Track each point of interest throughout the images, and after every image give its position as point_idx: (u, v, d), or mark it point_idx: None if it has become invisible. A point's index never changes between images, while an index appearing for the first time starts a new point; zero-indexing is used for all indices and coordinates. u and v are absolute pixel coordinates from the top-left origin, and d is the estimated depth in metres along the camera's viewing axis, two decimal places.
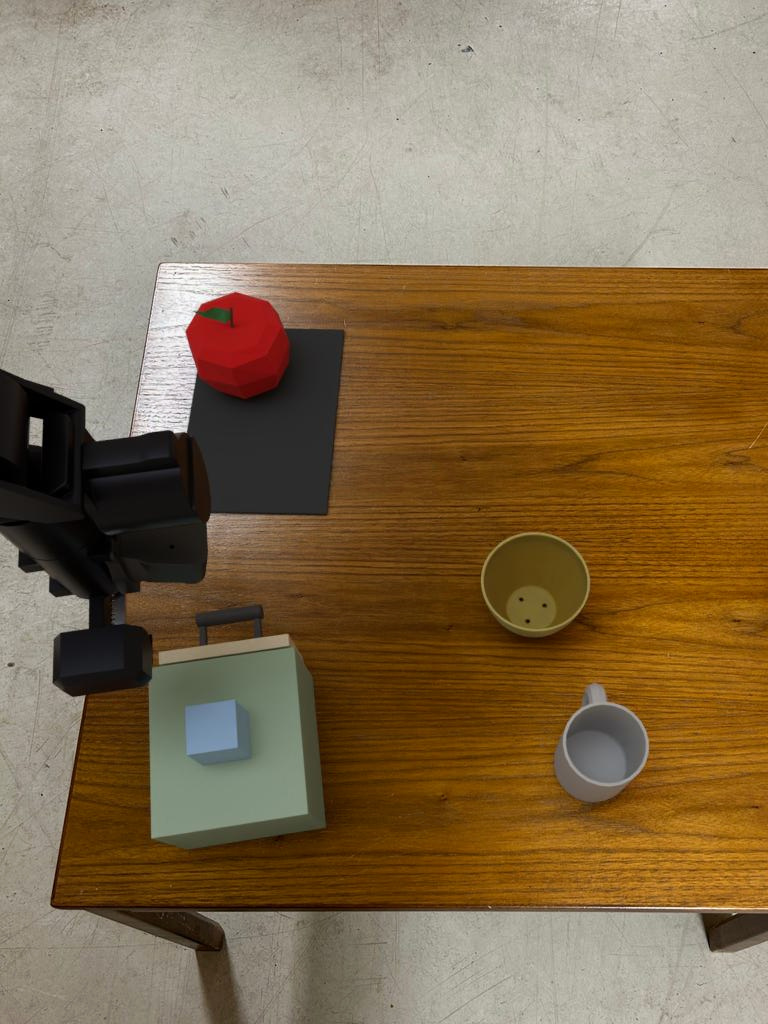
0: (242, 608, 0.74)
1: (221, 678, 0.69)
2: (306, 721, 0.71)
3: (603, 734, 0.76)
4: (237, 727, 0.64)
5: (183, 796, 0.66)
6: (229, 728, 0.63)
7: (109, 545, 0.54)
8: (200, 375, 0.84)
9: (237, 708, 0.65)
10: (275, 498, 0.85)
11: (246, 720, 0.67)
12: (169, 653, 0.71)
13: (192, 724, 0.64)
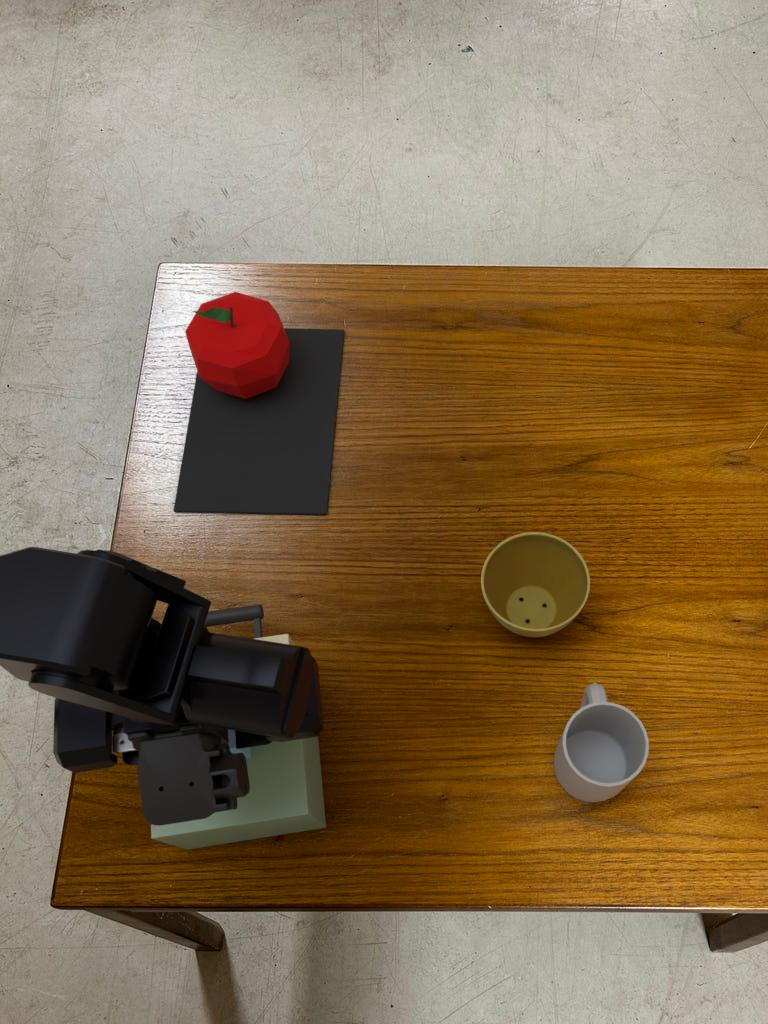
0: (242, 608, 0.74)
1: None
2: None
3: (603, 734, 0.76)
4: None
5: None
6: None
7: (137, 733, 0.52)
8: (200, 375, 0.84)
9: None
10: (275, 498, 0.85)
11: None
12: None
13: None
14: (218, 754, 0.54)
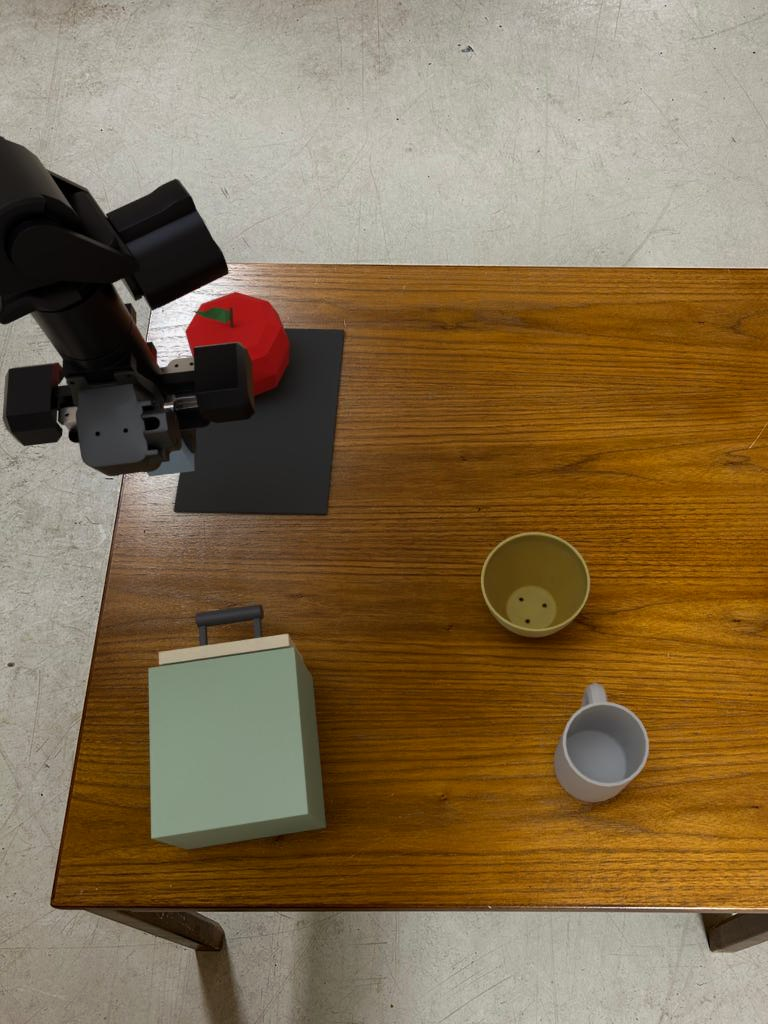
0: (242, 608, 0.74)
1: (221, 678, 0.69)
2: (306, 721, 0.71)
3: (603, 734, 0.76)
4: None
5: (183, 796, 0.66)
6: None
7: (74, 376, 0.57)
8: None
9: None
10: (275, 498, 0.85)
11: None
12: (169, 653, 0.71)
13: None
14: (150, 404, 0.58)
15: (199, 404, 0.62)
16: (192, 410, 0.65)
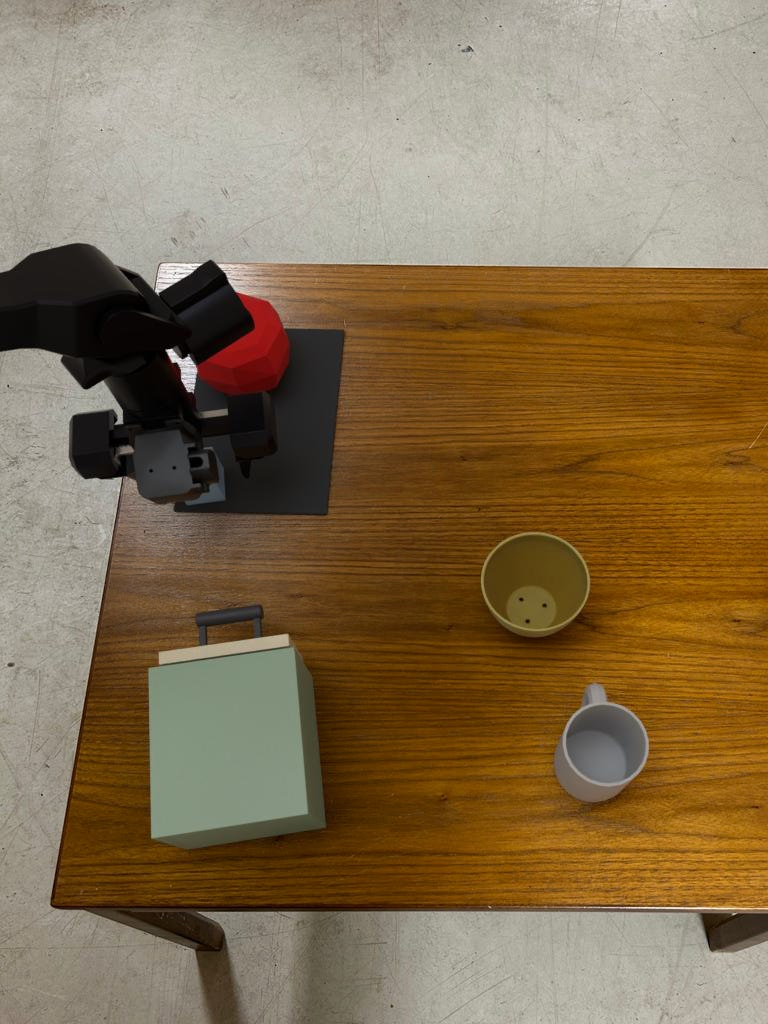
0: (242, 608, 0.74)
1: (221, 678, 0.69)
2: (306, 721, 0.71)
3: (603, 734, 0.76)
4: None
5: (183, 796, 0.66)
6: None
7: (133, 424, 0.69)
8: (200, 375, 0.84)
9: None
10: (275, 498, 0.85)
11: (221, 471, 0.85)
12: (169, 653, 0.71)
13: None
14: (194, 445, 0.71)
15: (232, 444, 0.74)
16: None
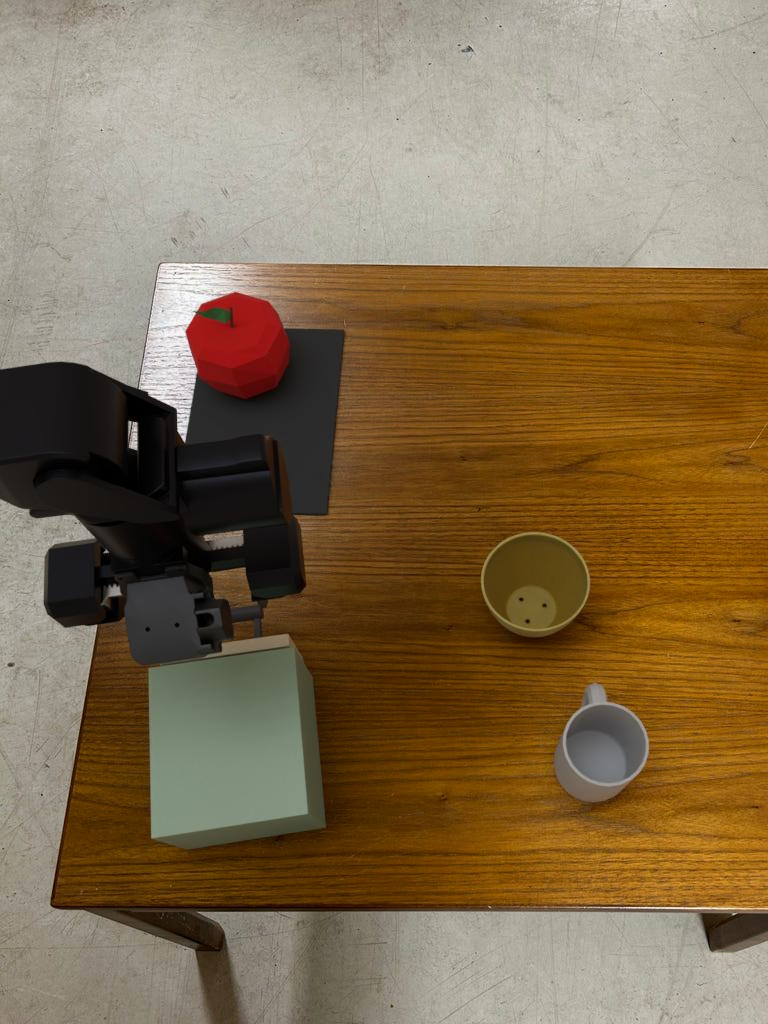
0: (242, 608, 0.74)
1: (221, 678, 0.69)
2: (306, 721, 0.71)
3: (603, 734, 0.76)
4: None
5: (183, 796, 0.66)
6: None
7: (123, 572, 0.54)
8: (200, 375, 0.84)
9: None
10: None
11: None
12: None
13: None
14: (202, 596, 0.55)
15: (250, 584, 0.59)
16: None
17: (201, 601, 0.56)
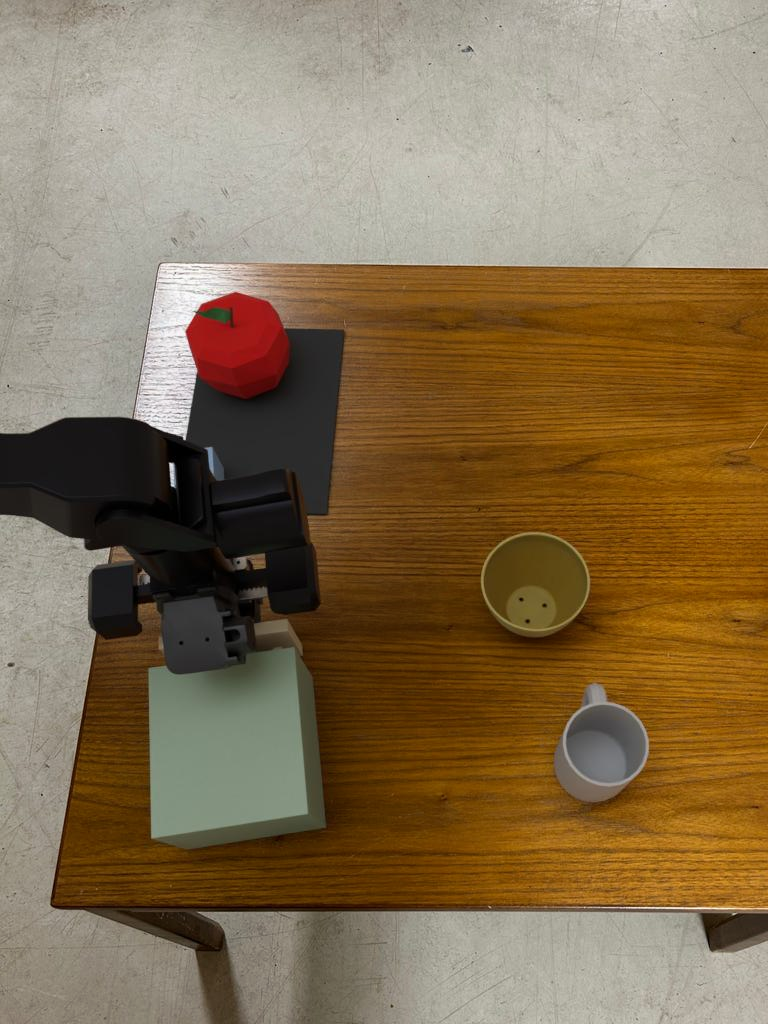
0: None
1: (221, 678, 0.69)
2: (306, 721, 0.71)
3: (603, 734, 0.76)
4: (214, 467, 0.81)
5: (183, 796, 0.66)
6: None
7: (161, 593, 0.61)
8: (200, 375, 0.84)
9: (214, 454, 0.82)
10: None
11: (221, 471, 0.85)
12: None
13: None
14: (230, 614, 0.63)
15: (271, 603, 0.66)
16: (238, 605, 0.69)
17: (228, 618, 0.63)
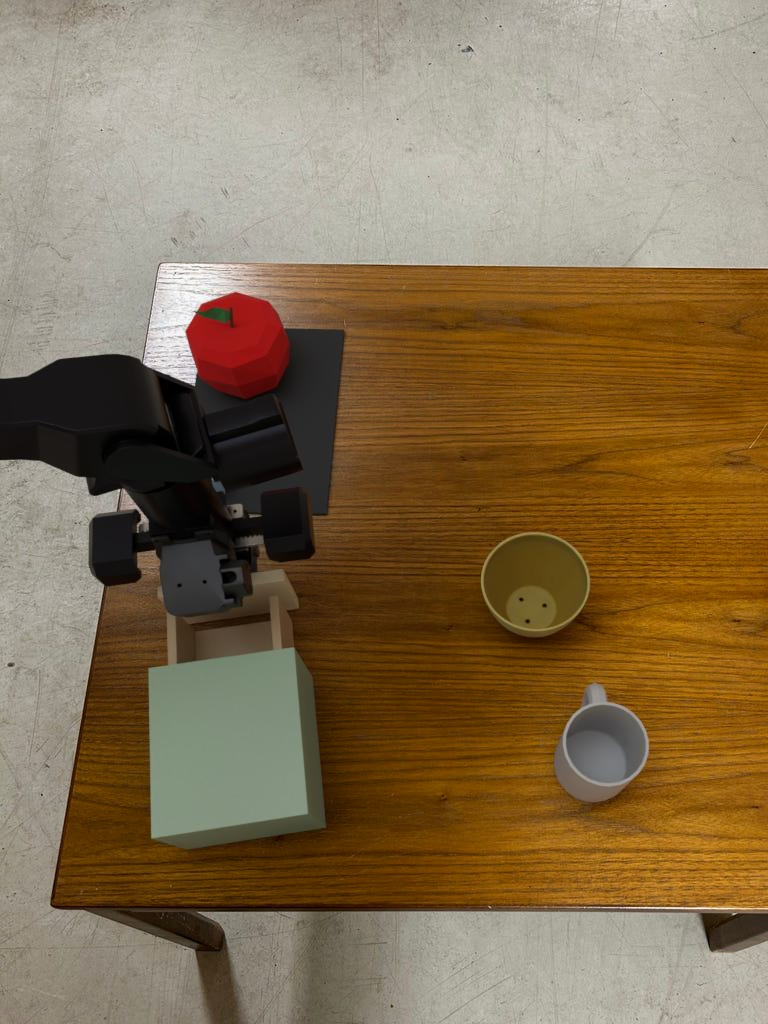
0: None
1: (221, 678, 0.69)
2: (306, 721, 0.71)
3: (603, 734, 0.76)
4: None
5: (183, 796, 0.66)
6: None
7: (159, 536, 0.63)
8: (200, 375, 0.84)
9: None
10: None
11: None
12: None
13: None
14: (226, 557, 0.64)
15: (267, 549, 0.68)
16: (235, 553, 0.70)
17: (225, 562, 0.65)
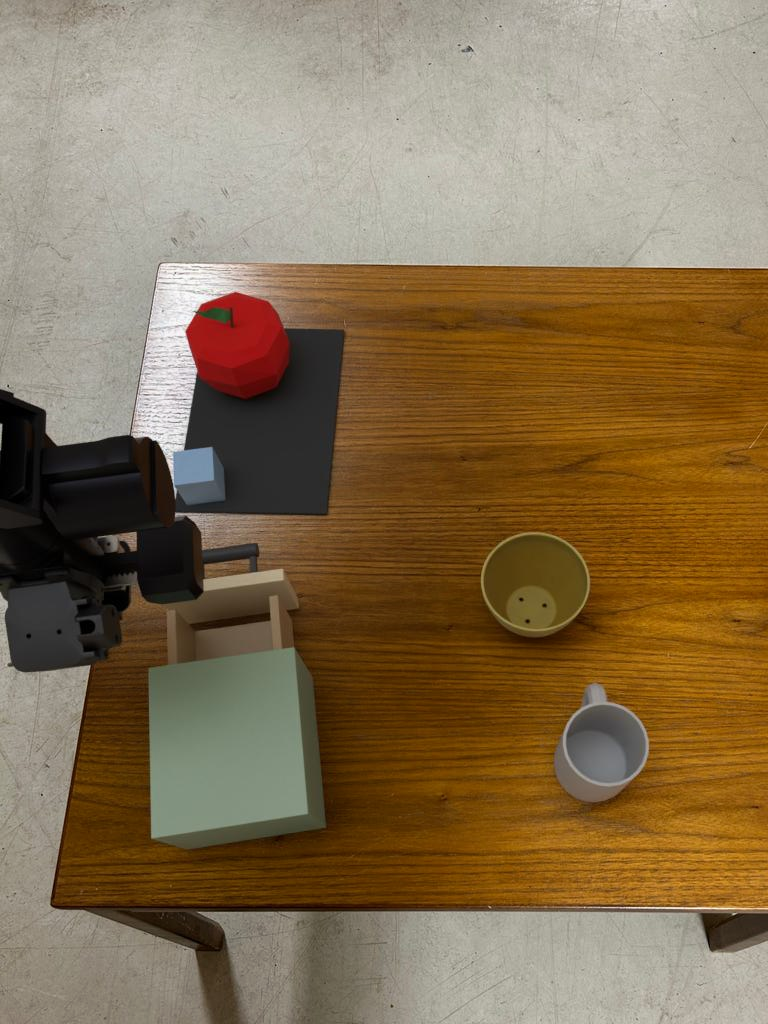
0: (238, 546, 0.77)
1: (221, 678, 0.69)
2: (306, 721, 0.71)
3: (603, 734, 0.76)
4: (214, 467, 0.81)
5: (183, 796, 0.66)
6: (207, 467, 0.81)
7: (2, 578, 0.53)
8: (200, 375, 0.84)
9: (214, 454, 0.82)
10: (275, 498, 0.85)
11: (221, 471, 0.85)
12: None
13: (178, 464, 0.81)
14: (86, 602, 0.54)
15: (142, 590, 0.58)
16: (110, 593, 0.60)
17: (85, 607, 0.55)
